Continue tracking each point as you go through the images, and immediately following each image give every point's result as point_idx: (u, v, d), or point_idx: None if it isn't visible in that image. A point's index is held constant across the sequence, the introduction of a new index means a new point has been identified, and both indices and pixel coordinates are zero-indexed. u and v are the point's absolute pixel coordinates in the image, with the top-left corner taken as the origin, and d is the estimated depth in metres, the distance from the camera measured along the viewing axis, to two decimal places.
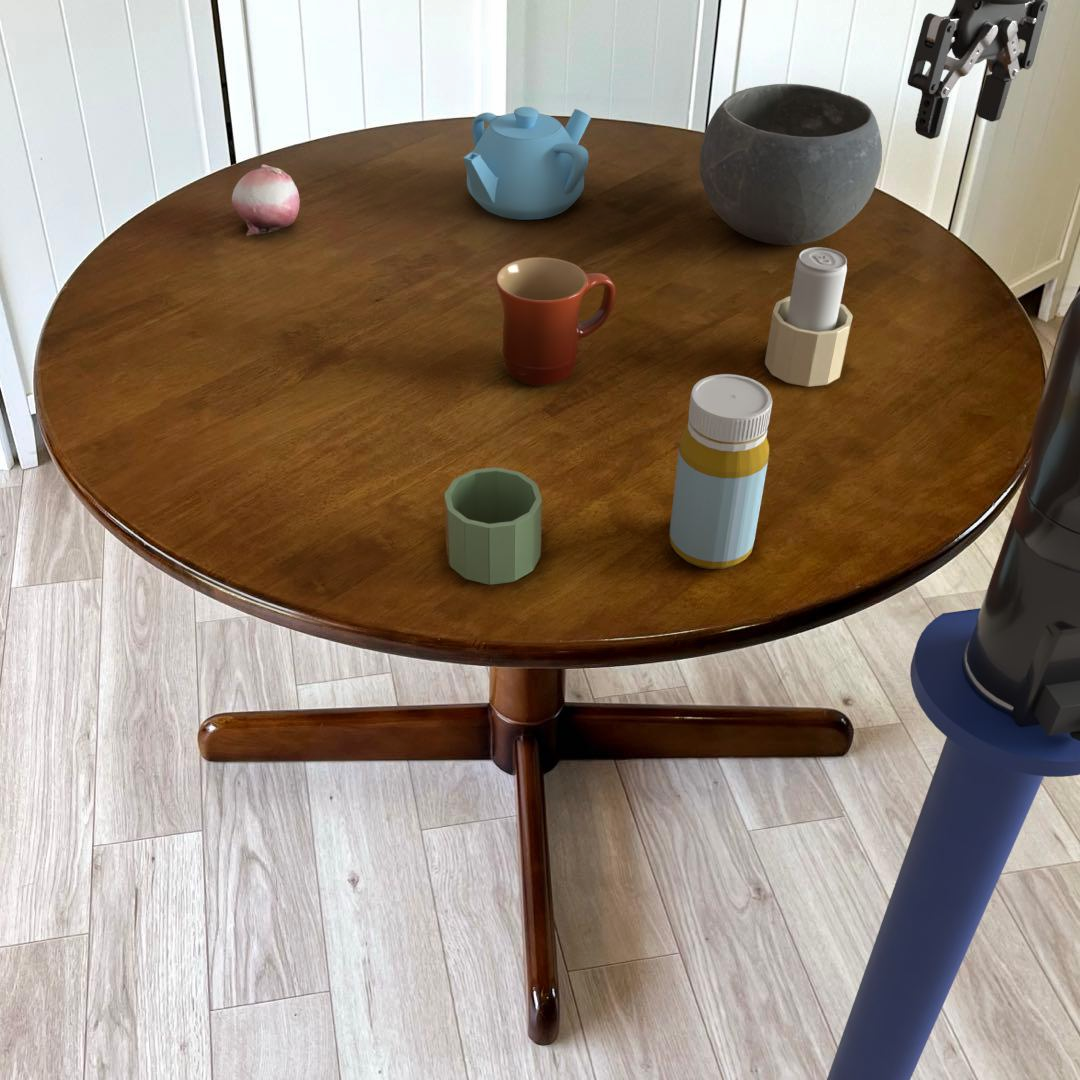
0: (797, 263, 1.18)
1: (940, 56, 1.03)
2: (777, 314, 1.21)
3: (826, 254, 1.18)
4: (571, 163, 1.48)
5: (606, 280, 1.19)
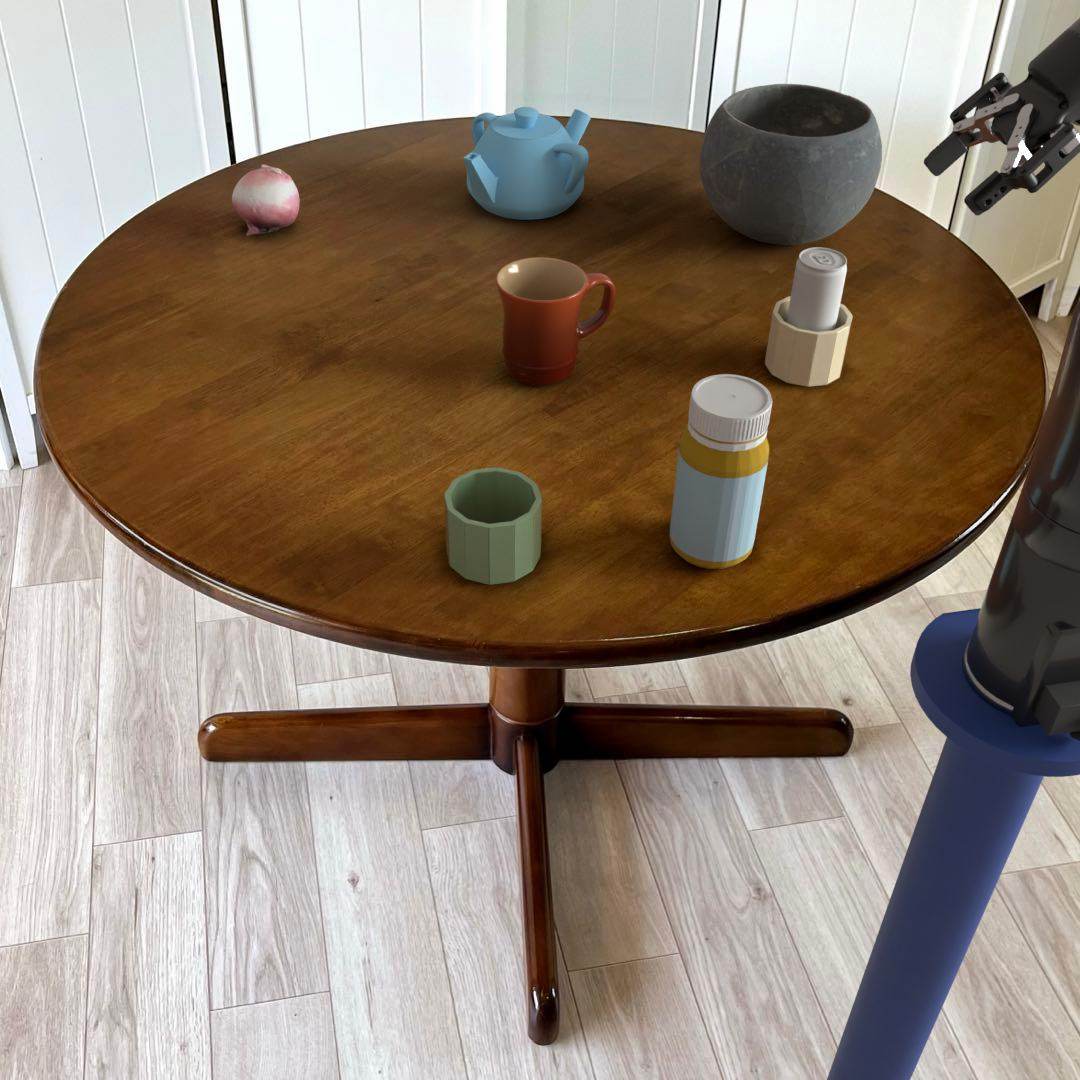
0: (797, 263, 1.18)
1: (977, 93, 1.17)
2: (777, 314, 1.21)
3: (826, 254, 1.18)
4: (571, 163, 1.48)
5: (606, 280, 1.19)
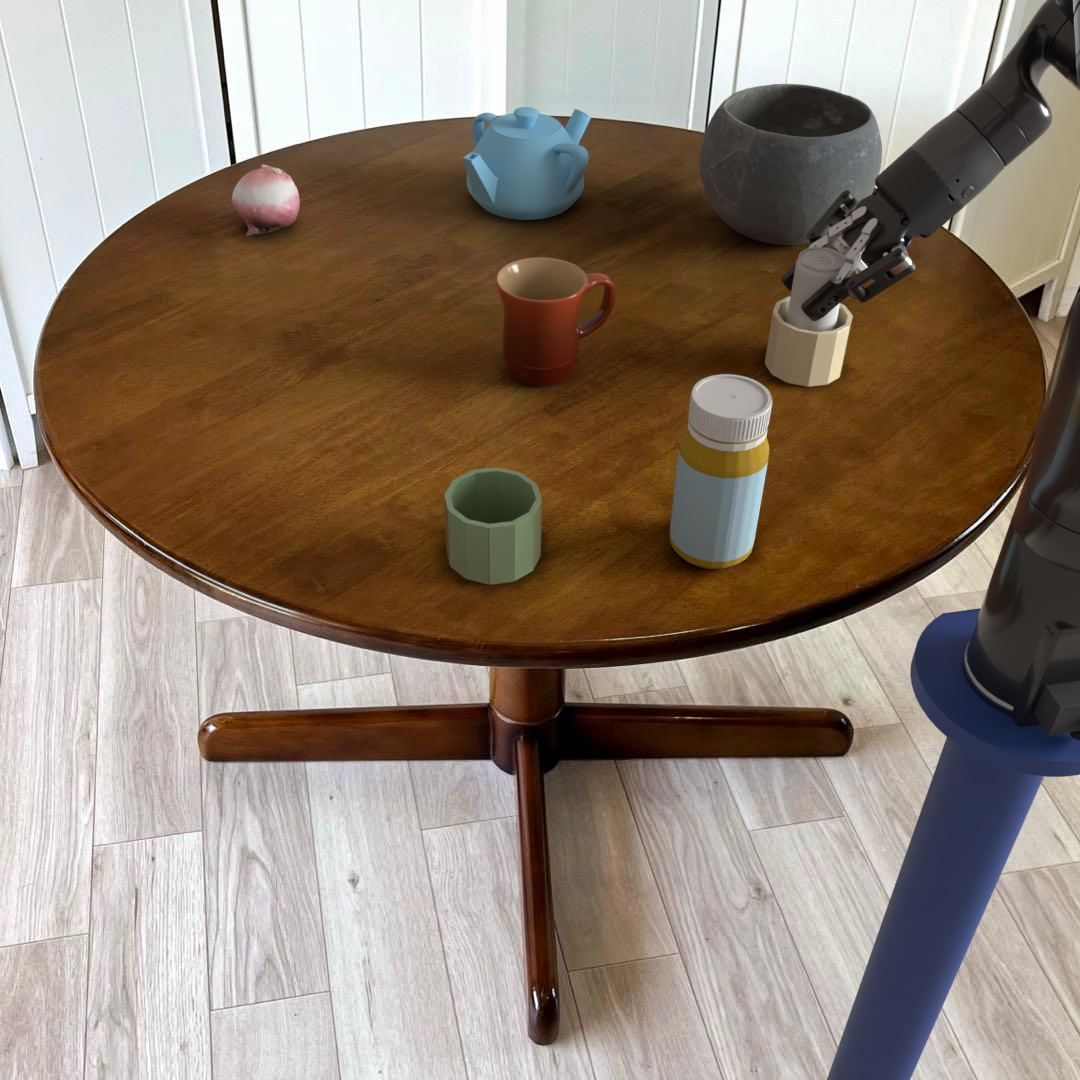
0: (797, 263, 1.18)
1: (827, 212, 1.21)
2: (777, 314, 1.21)
3: (826, 254, 1.18)
4: (571, 163, 1.48)
5: (606, 280, 1.19)
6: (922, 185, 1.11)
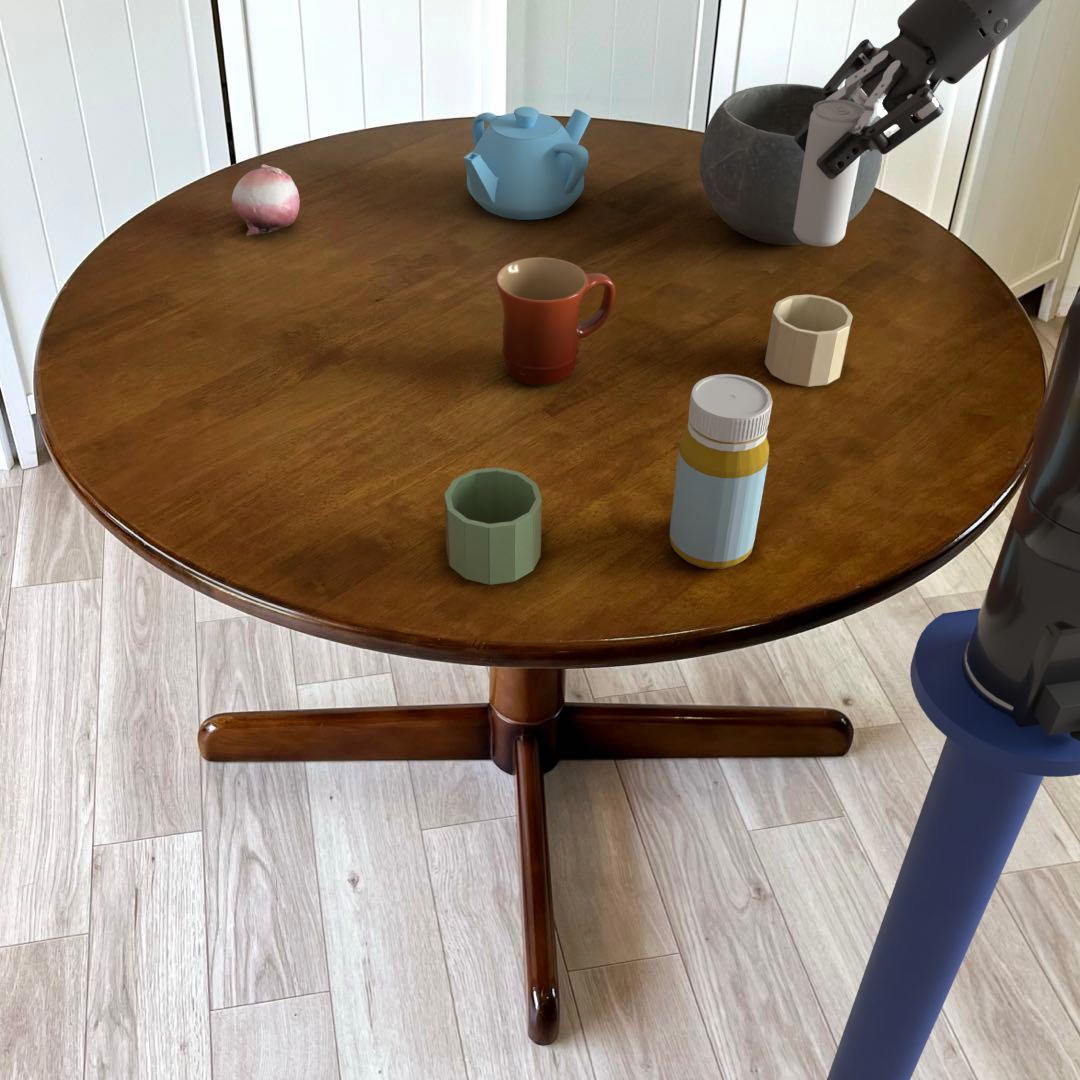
0: (811, 115, 1.07)
1: (844, 64, 1.11)
2: (777, 314, 1.21)
3: (844, 106, 1.08)
4: (571, 163, 1.48)
5: (606, 280, 1.19)
6: (950, 18, 1.01)
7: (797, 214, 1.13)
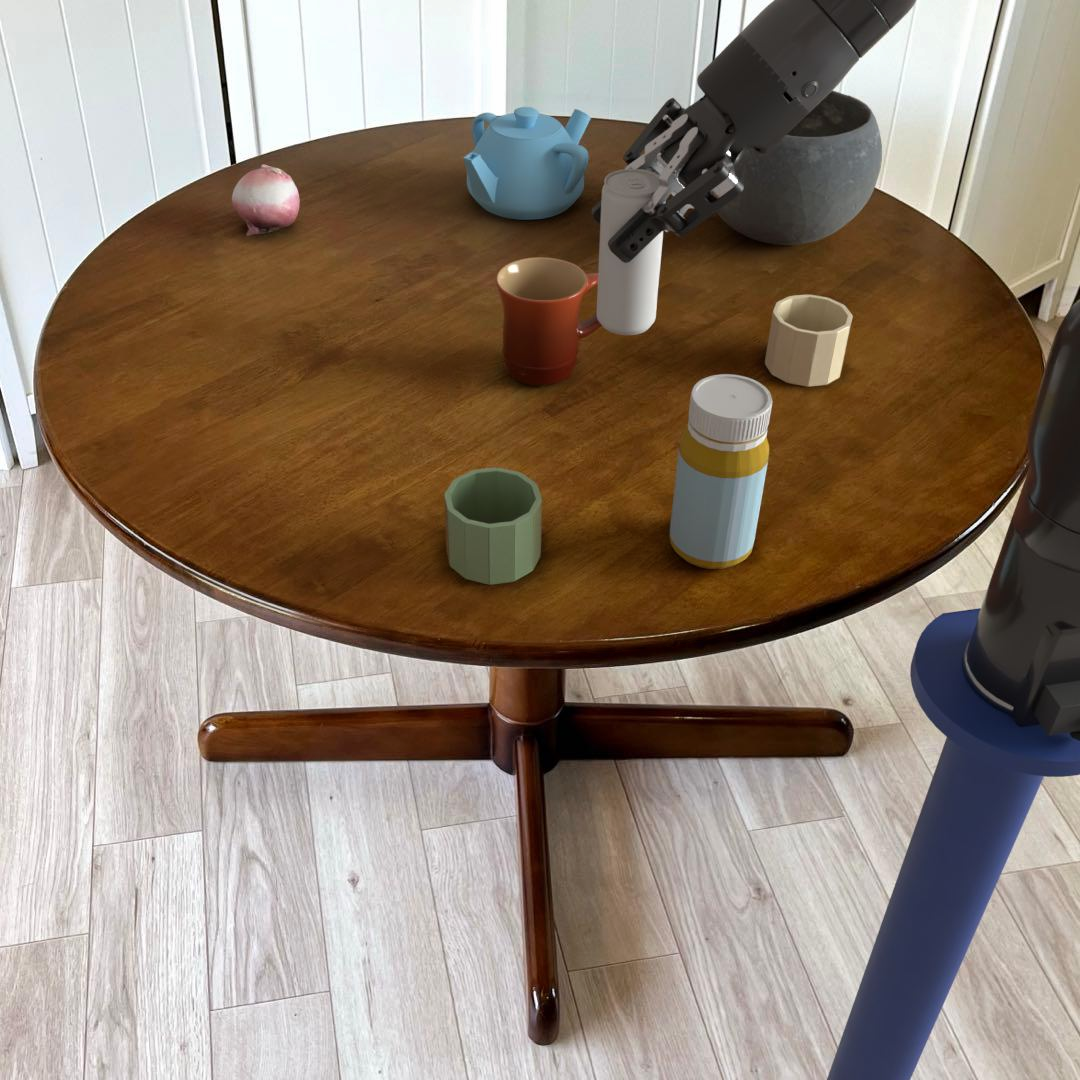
0: (603, 188, 0.92)
1: (648, 127, 0.96)
2: (777, 314, 1.21)
3: (641, 177, 0.93)
4: (571, 163, 1.48)
5: None
6: (749, 81, 0.86)
7: (598, 298, 0.98)
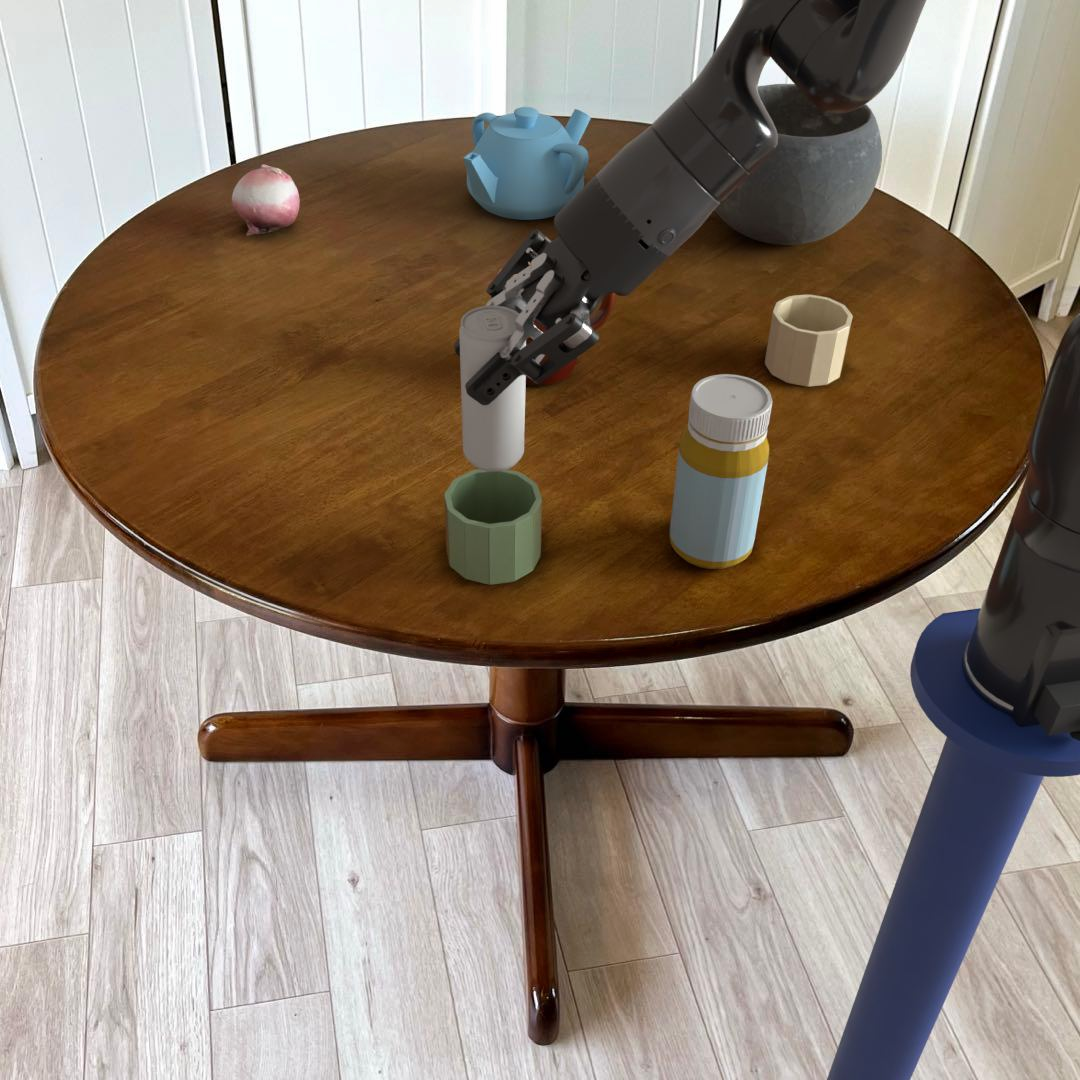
0: (460, 328, 0.89)
1: (512, 258, 0.92)
2: (777, 314, 1.21)
3: (500, 315, 0.89)
4: (571, 163, 1.48)
5: None
6: (602, 228, 0.82)
7: None
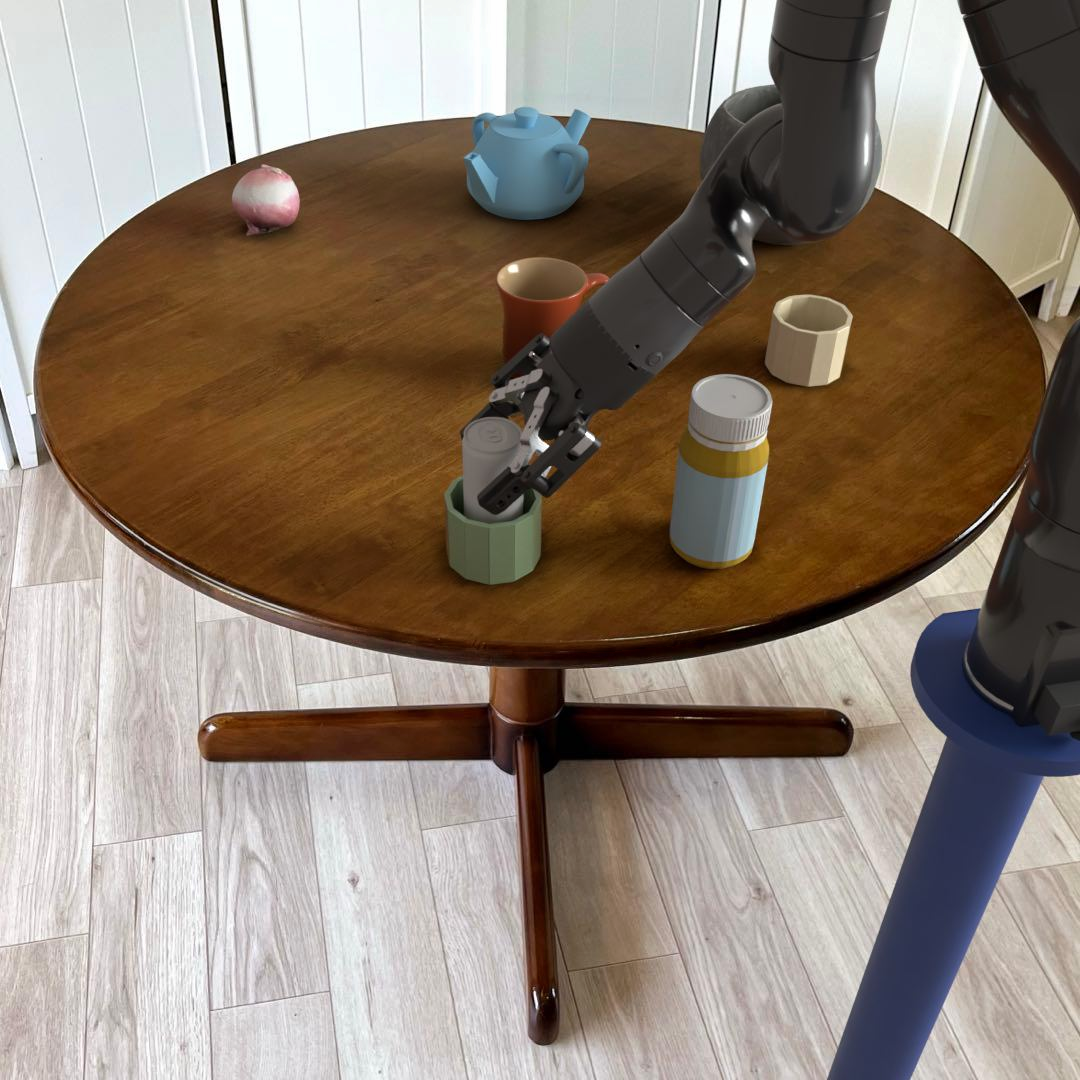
0: (463, 439, 0.95)
1: (517, 355, 0.98)
2: (777, 314, 1.21)
3: (500, 427, 0.95)
4: (571, 163, 1.48)
5: (606, 280, 1.19)
6: (594, 352, 0.88)
7: None
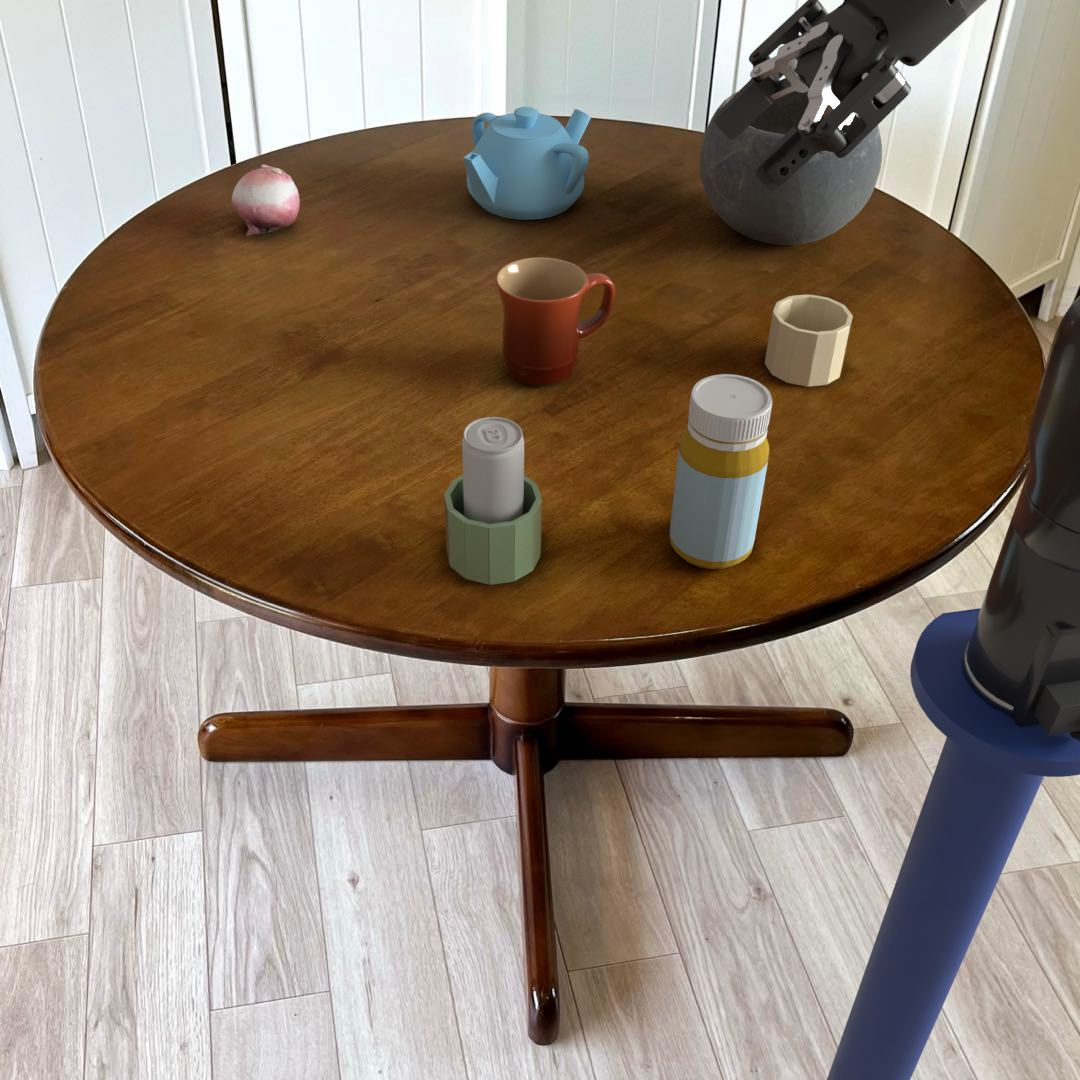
0: (463, 439, 0.95)
1: (783, 26, 0.86)
2: (777, 314, 1.21)
3: (500, 427, 0.95)
4: (571, 163, 1.48)
5: (606, 280, 1.19)
6: None
7: None
